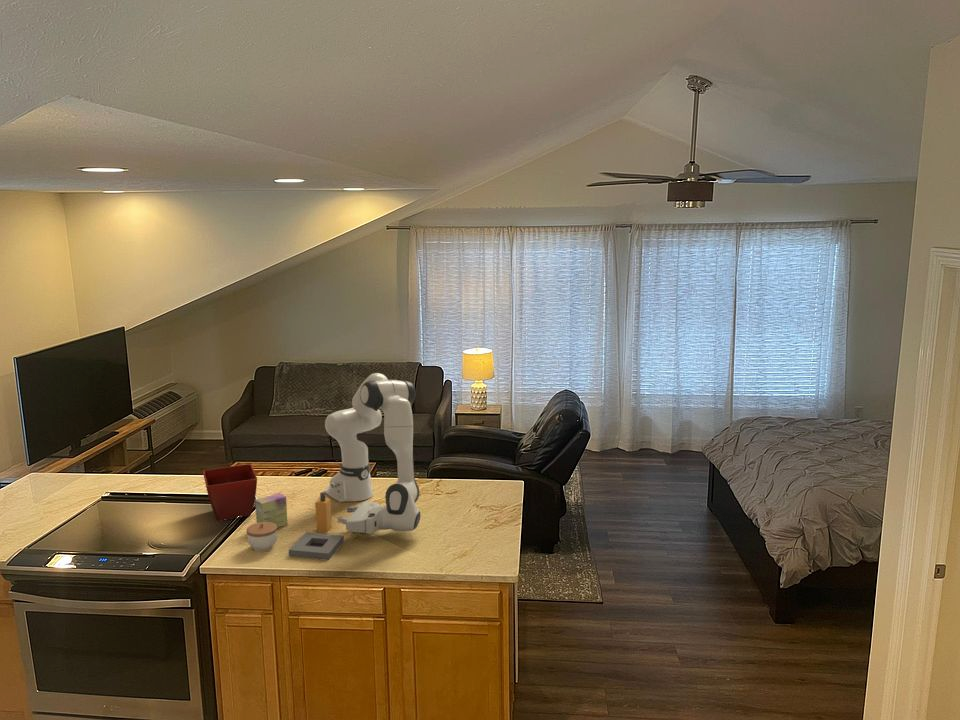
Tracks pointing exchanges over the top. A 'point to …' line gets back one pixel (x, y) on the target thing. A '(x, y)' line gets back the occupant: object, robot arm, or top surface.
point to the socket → (316, 546)
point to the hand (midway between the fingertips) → (342, 514)
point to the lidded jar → (262, 535)
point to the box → (272, 509)
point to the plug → (323, 514)
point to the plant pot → (231, 490)
